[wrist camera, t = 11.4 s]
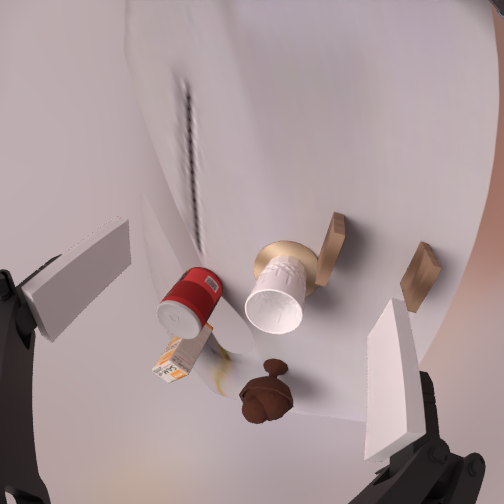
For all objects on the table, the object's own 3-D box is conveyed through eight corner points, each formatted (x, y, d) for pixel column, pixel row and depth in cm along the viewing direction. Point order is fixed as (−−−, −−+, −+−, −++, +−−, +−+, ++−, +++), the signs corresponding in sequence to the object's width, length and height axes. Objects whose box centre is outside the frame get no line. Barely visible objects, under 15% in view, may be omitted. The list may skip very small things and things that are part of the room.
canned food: (184, 260, 51) (154, 296, 41) (226, 273, 50) (201, 313, 40) (184, 292, 55) (157, 329, 45) (221, 305, 54) (199, 345, 44)
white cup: (318, 264, 43) (313, 305, 35) (297, 299, 47) (288, 341, 39) (272, 243, 44) (256, 280, 35) (255, 280, 48) (237, 320, 39)
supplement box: (197, 312, 57) (168, 359, 46) (214, 327, 57) (189, 375, 46) (178, 327, 61) (150, 370, 50) (194, 341, 62) (169, 384, 51)
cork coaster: (261, 232, 44) (260, 234, 43) (330, 252, 42) (330, 254, 42) (249, 287, 50) (248, 289, 49) (309, 305, 48) (309, 307, 48)
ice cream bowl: (259, 380, 63) (241, 433, 50) (246, 349, 58) (223, 407, 46) (302, 381, 59) (291, 437, 46) (295, 349, 54) (280, 412, 42)
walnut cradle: (333, 211, 39) (333, 232, 33) (428, 244, 37) (441, 268, 31) (318, 258, 43) (315, 283, 38) (407, 285, 41) (415, 312, 35)
